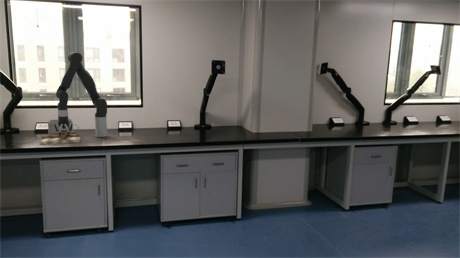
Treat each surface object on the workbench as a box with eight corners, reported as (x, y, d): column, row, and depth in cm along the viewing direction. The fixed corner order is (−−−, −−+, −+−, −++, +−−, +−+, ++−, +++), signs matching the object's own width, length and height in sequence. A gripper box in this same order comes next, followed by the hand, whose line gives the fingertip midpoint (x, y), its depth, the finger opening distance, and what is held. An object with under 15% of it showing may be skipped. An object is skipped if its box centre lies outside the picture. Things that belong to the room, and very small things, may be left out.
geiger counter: (48, 119, 309) (78, 117, 324) (46, 118, 314) (77, 116, 329) (49, 135, 312) (79, 133, 327) (47, 134, 317) (77, 131, 332)
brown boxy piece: (67, 135, 298) (67, 128, 297) (67, 138, 289) (67, 131, 288) (61, 136, 296) (60, 128, 295) (60, 138, 287) (60, 131, 286)
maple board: (79, 138, 304) (79, 134, 303) (80, 142, 291) (79, 137, 291) (42, 140, 293) (41, 135, 292) (41, 144, 280) (40, 139, 280)
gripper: (72, 114, 297) (73, 134, 300) (53, 115, 291) (54, 135, 294) (72, 115, 290) (73, 136, 293) (52, 116, 284) (54, 137, 287)
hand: (64, 136), depth 294 cm, fingers closed on brown boxy piece, 5 cm apart
